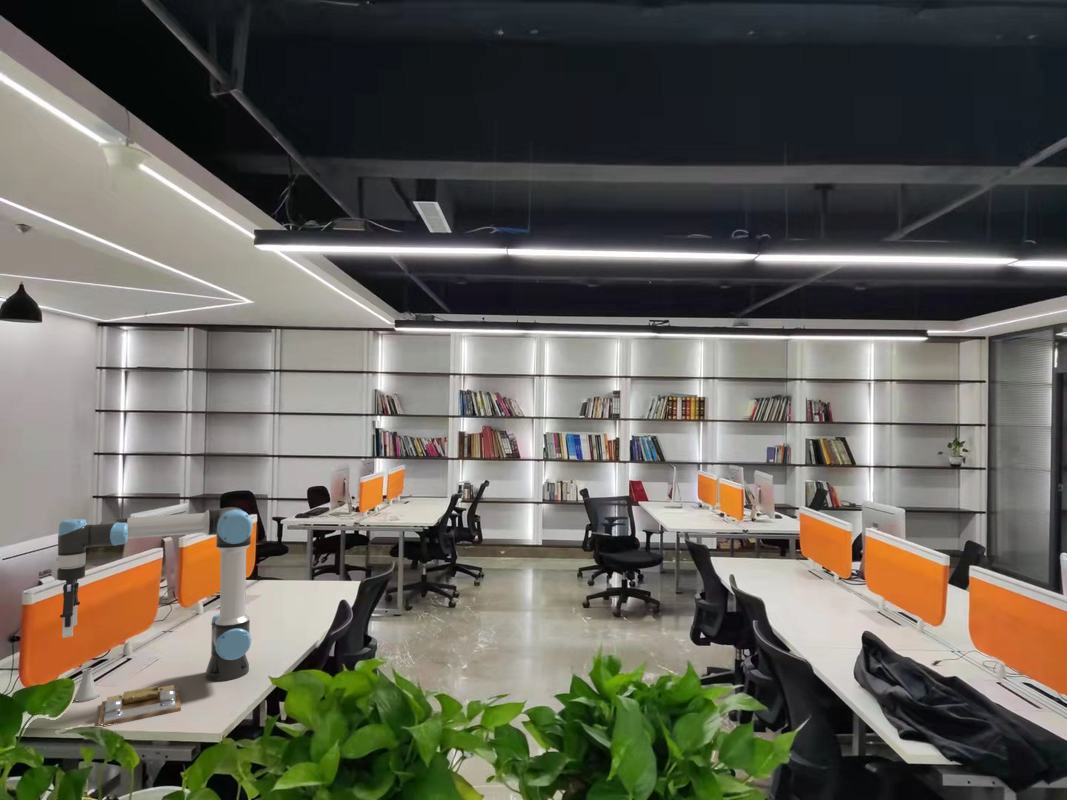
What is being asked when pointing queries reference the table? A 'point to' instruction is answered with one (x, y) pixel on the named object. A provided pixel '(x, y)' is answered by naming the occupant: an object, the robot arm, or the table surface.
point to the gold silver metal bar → (140, 694)
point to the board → (140, 704)
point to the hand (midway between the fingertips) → (69, 631)
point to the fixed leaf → (115, 707)
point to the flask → (86, 687)
